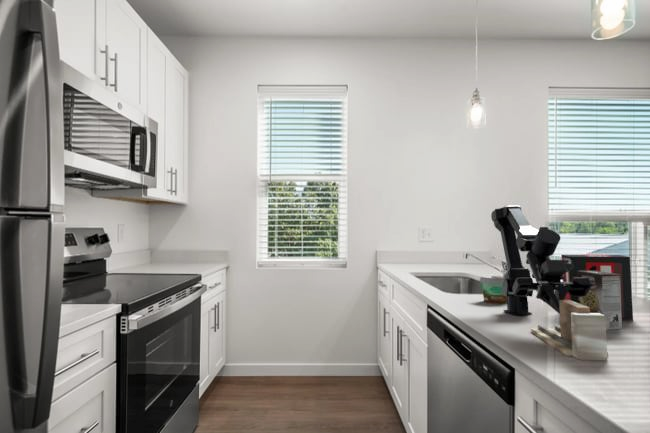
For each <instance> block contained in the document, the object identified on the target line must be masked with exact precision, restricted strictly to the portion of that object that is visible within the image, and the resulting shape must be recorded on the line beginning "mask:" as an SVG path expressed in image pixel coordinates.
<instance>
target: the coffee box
mask: <svg viewBox="0 0 650 433" xmlns="http://www.w3.org/2000/svg"><path fill="white" fill-rule="evenodd" d="M577 277H586V278H589V280H590V281H591V283H592V287H591V288H590V290H589V291H588V293H587V294H586V296H583V297H578V300H579V304H582V305H584V306H587V307H590V313H600V314H603V315H605V320H606V331H608V330H622V329H623V322H622V321H623V320H622V316H621V287H620V274H615V273H608V272H601V271H587V270H584V271H577Z"/></svg>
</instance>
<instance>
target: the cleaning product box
mask: <svg viewBox="0 0 650 433" xmlns="http://www.w3.org/2000/svg"><path fill="white" fill-rule="evenodd" d="M563 259H570V260H571V261H572V263H573V266H574V268H573V270H571V271H568V272H565V273H564V274H563V276H564V278H563V280H562V282H570V281H571V279H572V277H577V271H584V270H587V271H601V272H608V273H615V274H620V287H621V316H622V321H632V322H633V321H634V312H633V294H632V293H633V292H632V291H633V290H632V274H631V256H627V255H621V254H561V260H563ZM564 300H571V301H574V302H576V303H579V300H578V297H572V296H571V295H569V294H568V293H567V295H566V297H565V298H564Z"/></svg>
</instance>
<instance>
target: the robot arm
mask: <svg viewBox="0 0 650 433" xmlns="http://www.w3.org/2000/svg"><path fill="white" fill-rule="evenodd" d="M490 216H491V221H492V223H493V225H494V228H496V230H498V232H500V236H501V241H502V245H503V252H504V257H505V261H506V266H507V270H506V272H505V274H504V276H503V277H504V278H505V279H504V282H503V285H502V288H501V290H502V294H503V295H505V296H507V303H506V307H507V308H506V309H503V312H504V313H508V314H511V315H514V316H525V315H533V313H532V312H531V311H529V301H528V297H533V294H534V291H535V292H536V296H535V297H536V299H539V300H541V301H542V302H544V303H545V304H547V306H549V307H551V308H552V309H553V310H554V311H555V312H556V313H557V314H559V315H560V308H559V300H564V298H565V297H566V295H567V293H568V294H569V295H571V296H572V297H583V296H586V294H587V293H588V291H589V290H590V288H591V287H592V283H591V281H590V280H589V278H586V277H572V279H571V281H570V282H563V278H564V276H563V274H564V273H565V272H568V271H571V270H573V268H574V266H573V263H572V261H571V260H570V259H563V260H562V259H551V258H550V256H553V255H554V253H555V251H556V250H557V248H558V245H559V243H560V241H561V236H560V234H559V233H558V232H556V231H554V230H552V229H549V227H548V226H540V227H539V228H538V229H537V228H535V227H532V225H531V224H530V222H529V220H528V218H527V217H526V216H525V214H524V213H523V211H522V207H521V206H520V205H517V204H516V205H514V204H513V205H505V206H503V207H501V208H500V207H499V208H495V209H494V210H493V211H492V212H491V215H490ZM520 252H524V253H525V252H527V254H525V255H526V256H525V258H526V261H525V263H526V264H527V265H529V267H530V269H531V272H532V273H531V272H530V270H529V268H525V267H524V266H523V262H522V259H521V254H520ZM533 279H535V282H534V280H533ZM561 280H562V281H561Z"/></svg>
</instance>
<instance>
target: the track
mask: <svg viewBox="0 0 650 433" xmlns="http://www.w3.org/2000/svg"><path fill="white" fill-rule="evenodd" d="M571 330H572V343H570V342H568V341H567V340H565V339H563V338H562V337H561V330H560V325H557V324H555V325H554V328H546V327H545V326H543V325H542V324H537V328H530V332H531V333H532V334H534V335H535V336H537V337H538V338H539V339H541V340H542V341H544V342H545V343H547V344H548V345H550V346H551V347H552V348H554V349H555V350H557V352H560V353H561V354H563V355H564V356H568V357H574V358H575V359H576V360H578V359H580V360H582V361H584V360H586V361H608V358H609V352H608V346H607V345H608V344H607V342H608V341H607V330H606V320H605V315H603V314H600V313H571ZM580 360H579V361H580Z"/></svg>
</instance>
